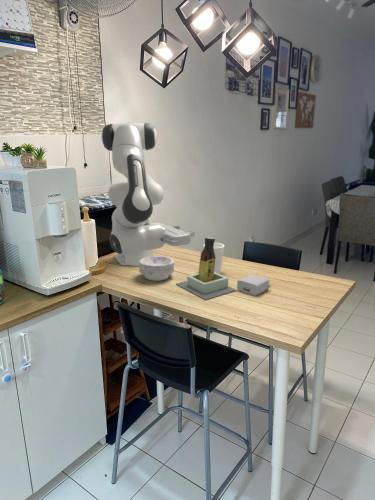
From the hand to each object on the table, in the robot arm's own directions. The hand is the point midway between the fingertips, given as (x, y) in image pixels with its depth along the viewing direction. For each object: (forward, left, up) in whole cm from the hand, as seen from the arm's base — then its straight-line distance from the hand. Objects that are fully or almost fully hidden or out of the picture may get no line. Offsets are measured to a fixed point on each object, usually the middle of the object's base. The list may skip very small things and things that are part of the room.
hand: (185, 230), depth 146 cm
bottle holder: (0, +11, -25) cm, 28 cm away
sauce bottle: (-1, +11, -25) cm, 27 cm away
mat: (0, +10, -25) cm, 27 cm away
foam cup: (-12, +24, -26) cm, 37 cm away
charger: (+13, +27, -26) cm, 39 cm away
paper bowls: (-22, 0, -26) cm, 34 cm away
